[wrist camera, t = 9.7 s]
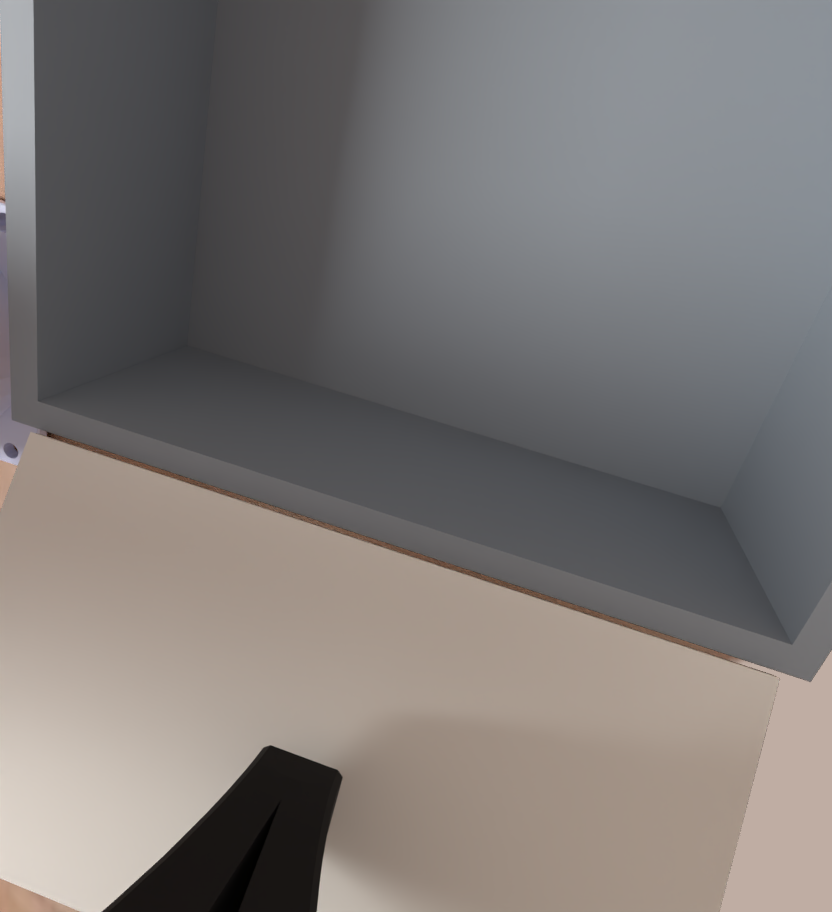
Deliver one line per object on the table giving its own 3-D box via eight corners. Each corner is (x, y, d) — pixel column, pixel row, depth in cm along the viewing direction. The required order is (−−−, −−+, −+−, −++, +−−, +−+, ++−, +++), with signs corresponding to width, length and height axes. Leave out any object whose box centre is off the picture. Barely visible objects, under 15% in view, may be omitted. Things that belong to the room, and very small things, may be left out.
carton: (175, 356, 18) (11, 420, 13) (242, -455, 12) (-31, -1018, 6) (729, 525, 17) (810, 682, 11) (1157, -309, 10) (1841, -900, 5)
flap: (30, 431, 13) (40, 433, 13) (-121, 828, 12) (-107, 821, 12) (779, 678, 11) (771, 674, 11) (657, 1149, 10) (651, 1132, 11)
